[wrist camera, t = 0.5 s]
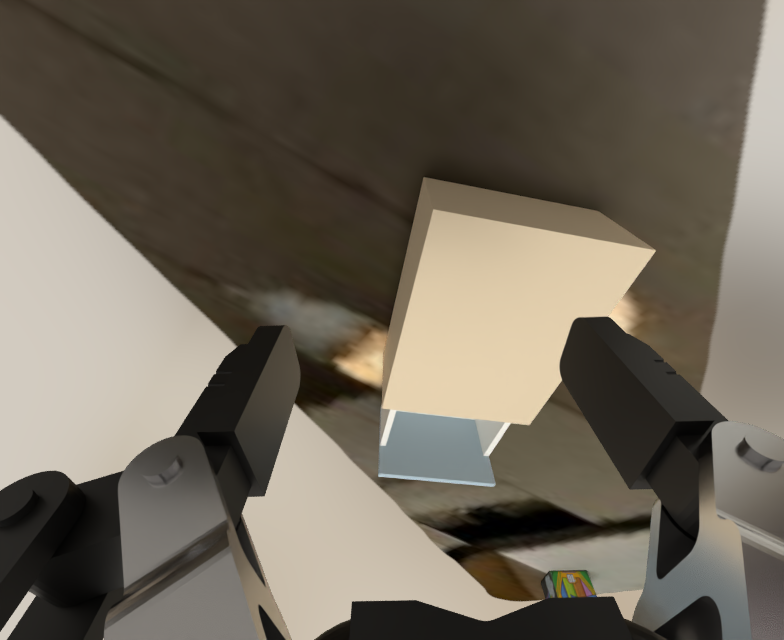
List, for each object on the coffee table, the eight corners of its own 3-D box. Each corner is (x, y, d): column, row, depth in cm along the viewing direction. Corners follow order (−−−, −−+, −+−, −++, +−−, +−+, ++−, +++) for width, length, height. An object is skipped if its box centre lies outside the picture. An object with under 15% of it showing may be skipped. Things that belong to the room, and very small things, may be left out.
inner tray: (434, 197, 24) (450, 243, 18) (585, 225, 25) (651, 278, 19) (380, 409, 39) (378, 476, 32) (477, 419, 40) (493, 486, 34)
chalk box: (576, 581, 82) (607, 667, 71) (539, 582, 83) (564, 667, 71) (588, 569, 77) (624, 660, 65) (548, 570, 77) (577, 660, 65)
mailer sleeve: (423, 176, 24) (433, 209, 18) (598, 211, 26) (656, 250, 20) (383, 354, 35) (381, 408, 29) (508, 370, 36) (529, 425, 31)
